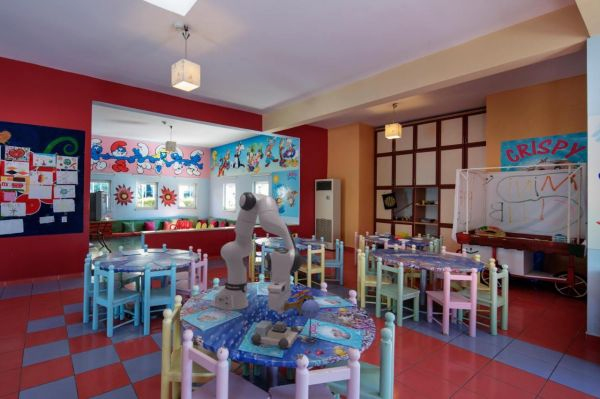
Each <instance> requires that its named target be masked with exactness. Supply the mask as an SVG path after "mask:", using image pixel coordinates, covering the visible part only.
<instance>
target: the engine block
mask: <svg viewBox="0 0 600 399" xmlns="http://www.w3.org/2000/svg"><path fill="white" fill-rule="evenodd" d="M272 325H273V332H278V333H285V332H286V327H287V323H285V322H284V321H279V320H278V321H276V322H275V323H274V324H272Z"/></svg>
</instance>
